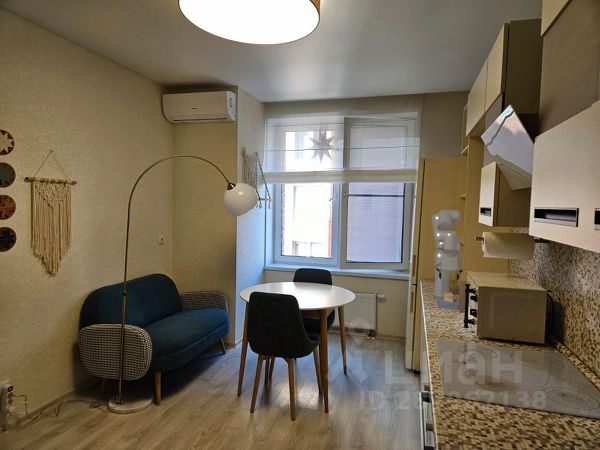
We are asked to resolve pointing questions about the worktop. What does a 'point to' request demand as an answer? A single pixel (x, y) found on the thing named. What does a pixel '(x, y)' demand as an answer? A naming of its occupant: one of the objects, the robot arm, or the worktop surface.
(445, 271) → the robot arm
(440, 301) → the slate base block
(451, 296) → the oak cube
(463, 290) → the wooden block
